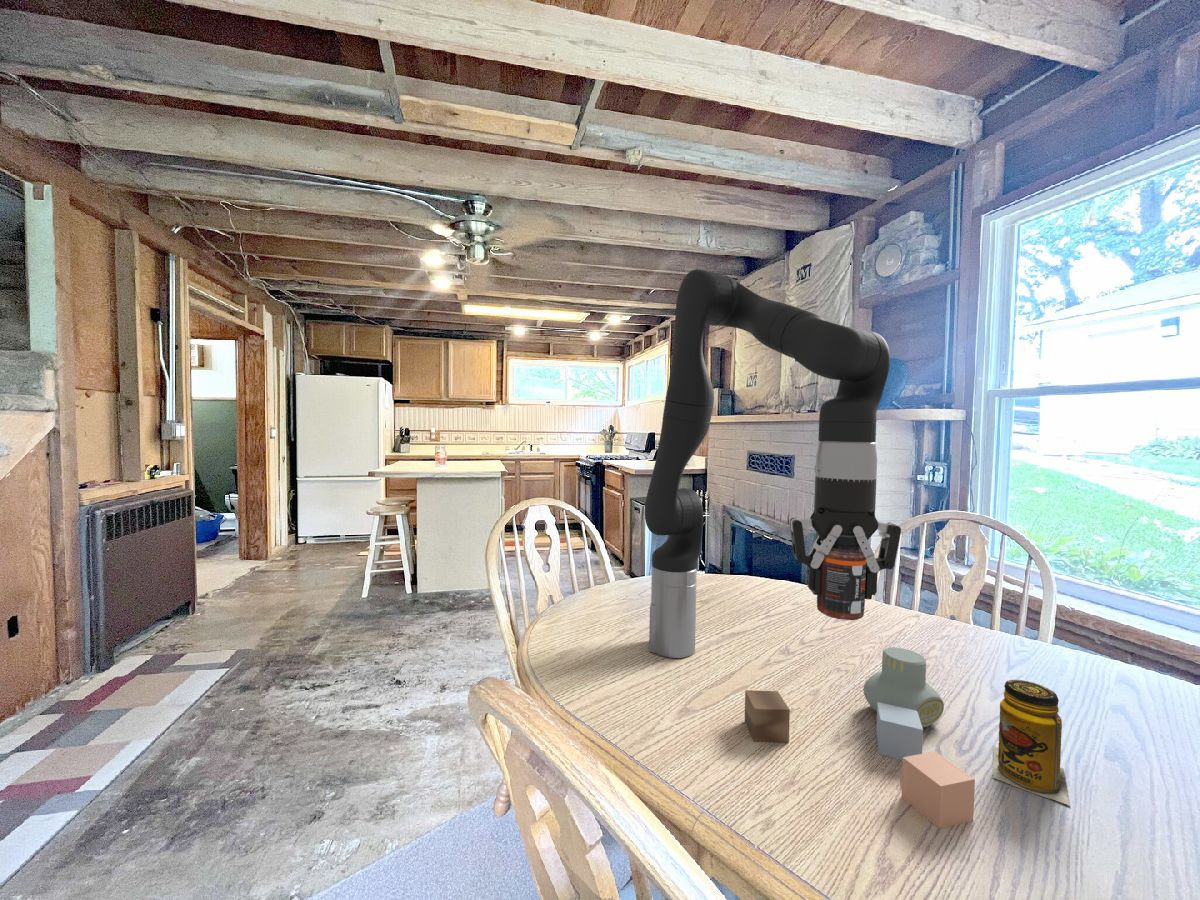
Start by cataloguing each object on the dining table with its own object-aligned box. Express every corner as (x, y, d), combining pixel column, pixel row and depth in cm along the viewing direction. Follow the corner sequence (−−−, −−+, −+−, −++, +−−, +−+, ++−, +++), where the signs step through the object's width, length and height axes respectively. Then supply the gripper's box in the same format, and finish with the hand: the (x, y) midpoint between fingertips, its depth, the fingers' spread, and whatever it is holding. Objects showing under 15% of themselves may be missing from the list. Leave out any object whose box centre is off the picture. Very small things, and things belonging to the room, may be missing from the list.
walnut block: (754, 742, 69) (754, 708, 69) (744, 721, 74) (745, 690, 74) (788, 743, 69) (789, 709, 69) (776, 722, 74) (777, 691, 74)
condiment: (992, 779, 62) (996, 689, 62) (993, 747, 69) (996, 665, 68) (1070, 808, 58) (1075, 710, 57) (1063, 770, 64) (1067, 683, 64)
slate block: (879, 754, 67) (880, 719, 67) (876, 734, 71) (877, 701, 71) (921, 765, 65) (923, 729, 65) (915, 744, 69) (917, 710, 69)
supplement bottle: (870, 624, 63) (874, 539, 62) (822, 620, 64) (825, 536, 64) (856, 608, 69) (859, 530, 68) (812, 604, 70) (814, 527, 69)
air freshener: (904, 739, 70) (907, 673, 70) (854, 709, 78) (856, 649, 77) (950, 723, 75) (953, 660, 74) (899, 696, 82) (901, 639, 82)
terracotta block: (939, 829, 54) (940, 786, 54) (901, 796, 59) (902, 757, 59) (973, 821, 56) (974, 779, 55) (933, 789, 60) (935, 751, 60)
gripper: (795, 475, 63) (791, 600, 64) (915, 479, 61) (909, 609, 61) (784, 471, 71) (781, 583, 71) (891, 474, 68) (886, 591, 69)
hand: (840, 594), depth 66 cm, fingers closed on supplement bottle, 6 cm apart
